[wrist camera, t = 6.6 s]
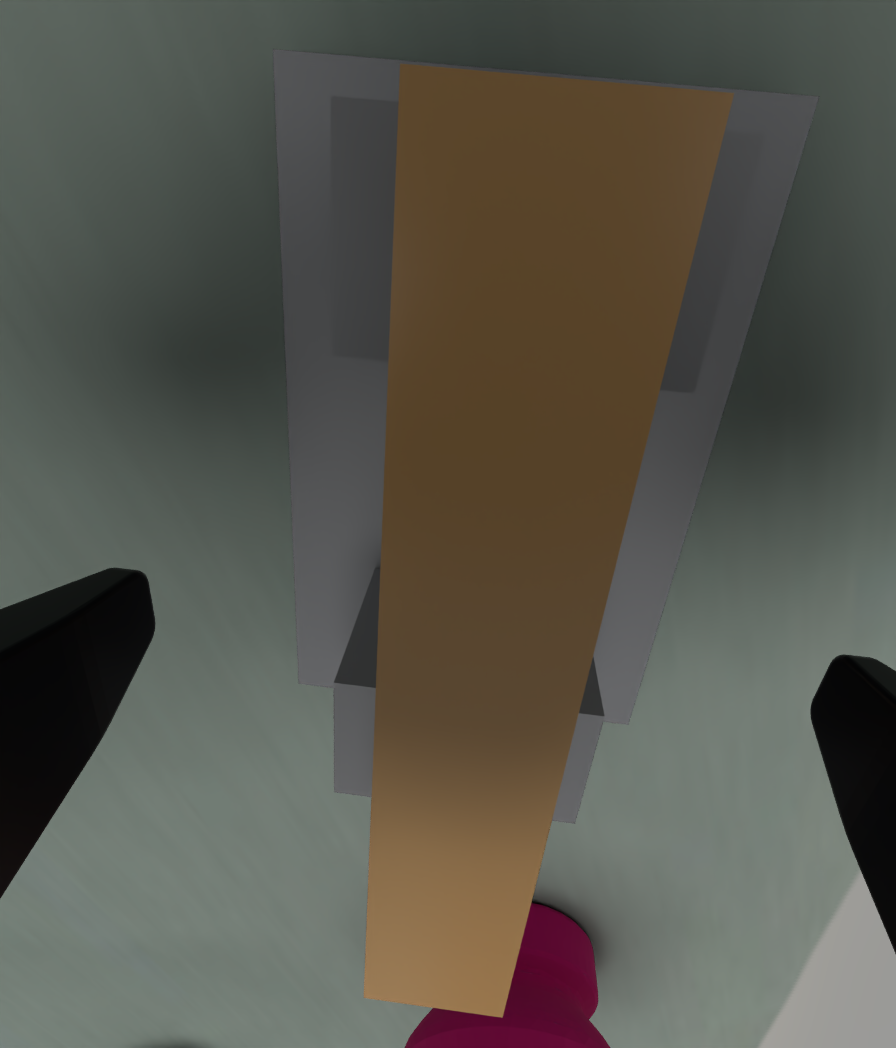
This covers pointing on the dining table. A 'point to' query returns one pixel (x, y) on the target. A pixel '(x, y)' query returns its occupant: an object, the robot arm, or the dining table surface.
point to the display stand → (362, 376)
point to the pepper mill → (531, 996)
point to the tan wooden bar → (509, 479)
